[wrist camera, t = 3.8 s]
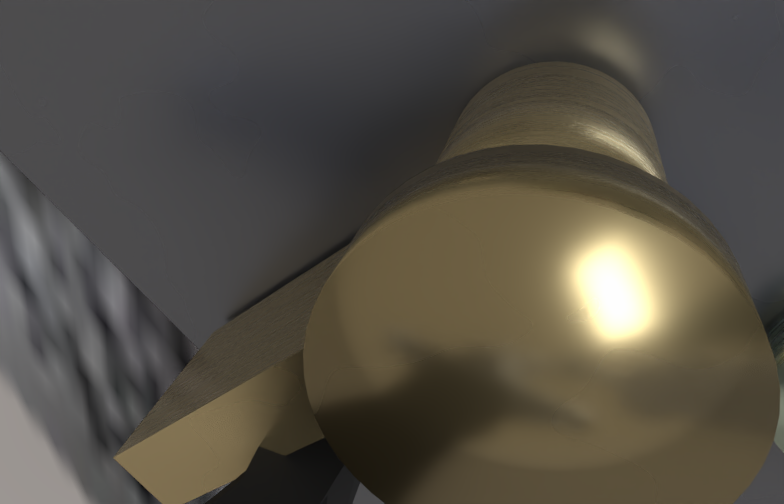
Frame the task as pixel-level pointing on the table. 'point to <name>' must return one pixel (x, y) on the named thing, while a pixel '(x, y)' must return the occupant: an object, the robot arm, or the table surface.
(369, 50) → the base plate
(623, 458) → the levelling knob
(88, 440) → the table surface
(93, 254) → the table surface
